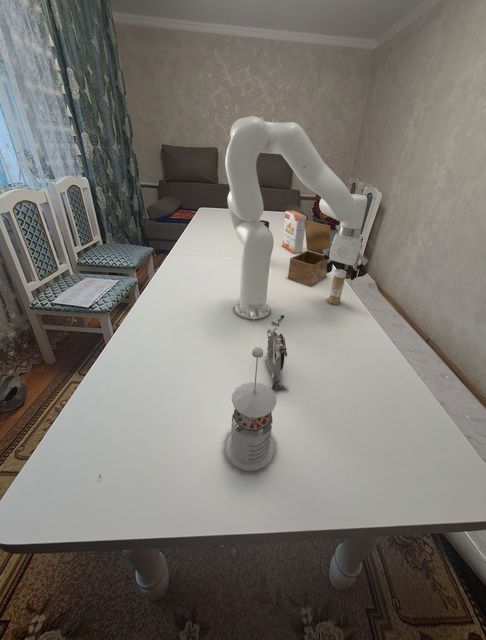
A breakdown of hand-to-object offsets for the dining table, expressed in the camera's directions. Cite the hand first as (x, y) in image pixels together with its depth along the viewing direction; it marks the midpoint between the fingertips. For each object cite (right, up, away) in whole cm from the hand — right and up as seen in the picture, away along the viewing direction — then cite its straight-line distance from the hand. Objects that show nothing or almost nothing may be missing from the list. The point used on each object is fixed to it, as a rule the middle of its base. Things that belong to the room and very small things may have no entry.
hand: (340, 275), depth 112 cm
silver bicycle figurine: (-26, -29, -32) cm, 51 cm away
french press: (-32, -39, -52) cm, 73 cm away
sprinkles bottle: (-1, -10, +5) cm, 12 cm away
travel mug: (-32, +11, +40) cm, 52 cm away
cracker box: (-13, +21, +60) cm, 65 cm away
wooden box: (-9, +1, +25) cm, 27 cm away
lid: (-5, +18, +20) cm, 27 cm away
